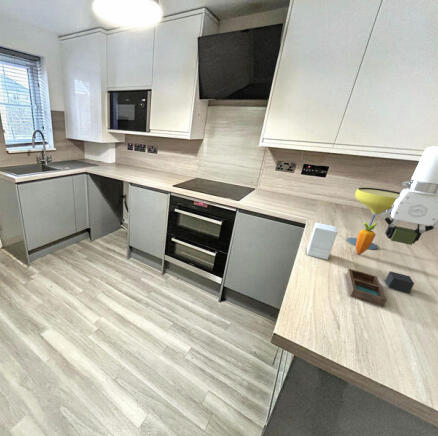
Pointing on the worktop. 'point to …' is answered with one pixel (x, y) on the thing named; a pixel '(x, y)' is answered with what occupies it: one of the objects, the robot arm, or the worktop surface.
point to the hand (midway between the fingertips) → (399, 239)
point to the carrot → (365, 238)
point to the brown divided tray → (365, 287)
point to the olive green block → (403, 235)
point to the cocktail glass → (375, 203)
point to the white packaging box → (321, 240)
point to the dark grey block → (399, 282)
